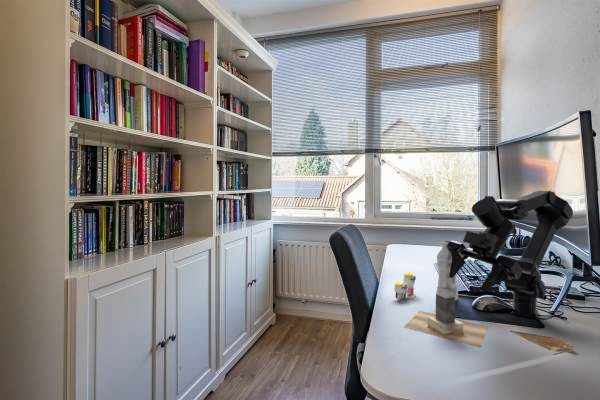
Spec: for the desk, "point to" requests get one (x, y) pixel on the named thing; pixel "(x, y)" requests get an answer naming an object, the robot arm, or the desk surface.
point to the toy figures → (405, 287)
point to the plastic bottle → (446, 272)
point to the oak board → (470, 334)
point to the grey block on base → (445, 316)
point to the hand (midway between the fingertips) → (465, 283)
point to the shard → (547, 342)
